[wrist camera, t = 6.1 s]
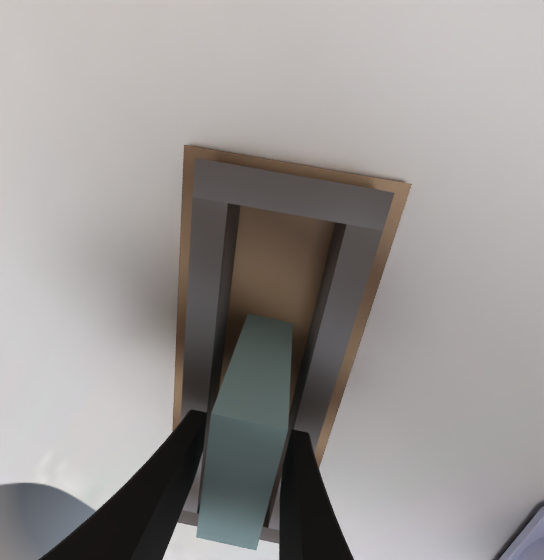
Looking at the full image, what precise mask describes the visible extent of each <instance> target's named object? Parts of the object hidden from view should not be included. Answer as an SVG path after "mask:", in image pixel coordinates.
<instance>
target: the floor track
mask: <svg viewBox="0 0 544 560" xmlns="http://www.w3.org/2000/svg"><path fill="white" fill-rule="evenodd" d="M411 185H412V184H409V183H403V182H397V181H391V180H386V179H380V178H374V177H368V176H362V175H357V174H351V173H345V172H339V171H333V170H328V169H322V168H316V167H310V166H304V165H299V164H293V163H287V162H281V161H275V160H270V159H264V158H258V157H252V156H246V155H240V154H235V153H229V152H223V151H217V150H211V149H206V148H200V147H194V146H188V145H184V162H183V187H182V211H181V236H180V261H179V285H178V310H177V334H176V359H175V384H174V408H173V431H174V430H175V429H176V427H177V426H178V425H179V423H180V422H181V421H182V419H183V418H184V417H185V415H186V414H187V413H188V411H190V410H191V409H192V410H197V411H202V412H207V419H206V429H205V439H204V449H203V453H202V456H201V460H200V463H199V466H198V470H197V473H196V476H195V479H194V482H193V484H192V487H191V489H190V492H189V494H188V497H187V499H186V502H185V504H184V507H183V509H182V512H181V514H180V517H179V519H178V522H179V523H183V524H188V525H193V526H198V519H199V510H200V502H201V494H202V486H203V477H204V469H205V461H206V453H207V444H208V436H209V428H210V419H211V413H212V410H213V407H214V404H215V402H216V399H217V396H218V394H219V391H220V388H221V385H222V383H223V380H224V377H225V374H226V372H227V369H228V366H229V364H230V361H231V358H232V355H233V353H234V350H235V347H236V344H237V342H238V339H239V336H240V334H241V331H242V328H243V325H244V323H245V320H246V317H247V314H251V315H256V316H261V317H266V318H271V319H277V320H282V321H287V322H292V323H293V328H292V351H291V375H290V398H289V421H288V432H287V435H286V439H285V443H284V447H283V451H282V454H281V458H280V462H279V466H278V470H277V473H276V477H275V481H274V485H273V489H272V492H271V496H270V500H269V504H268V508H267V511H266V515H265V519H264V523H263V527H262V530H261V534H260V538H259V539H260V540H265V541H269V542H274V543H279V521H280V487H281V476H282V466H283V462H284V458H285V454H286V450H287V446H288V442H289V438H290V434H291V430H292V429H293V430H298V431H303V432H308V433H309V435H310V438H311V443H312V447H313V451H314V454H315V458H316V461H317V465H318V468H319V466H320V463H321V460H322V457H323V454H324V451H325V448H326V445H327V442H328V439H329V436H330V433H331V429H332V426H333V423H334V420H335V417H336V414H337V411H338V408H339V405H340V402H341V399H342V396H343V393H344V390H345V387H346V384H347V381H348V378H349V374H350V371H351V368H352V365H353V362H354V359H355V356H356V353H357V350H358V347H359V344H360V341H361V338H362V335H363V332H364V329H365V326H366V322H367V319H368V316H369V313H370V310H371V307H372V304H373V301H374V298H375V295H376V292H377V289H378V286H379V283H380V280H381V277H382V274H383V270H384V267H385V264H386V261H387V258H388V255H389V252H390V249H391V246H392V243H393V240H394V237H395V234H396V231H397V228H398V225H399V222H400V218H401V215H402V212H403V209H404V206H405V203H406V200H407V197H408V194H409V191H410V188H411Z"/></svg>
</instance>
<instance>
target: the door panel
mask: <svg viewBox="0 0 544 560" xmlns="http://www.w3.org/2000/svg"><path fill="white" fill-rule="evenodd" d="M292 328H293V323H292V322H287V321H282V320H277V319H271V318H266V317H261V316H256V315H251V314H247V317H246V320H245V323H244V325H243V328H242V331H241V334H240V336H239V339H238V342H237V344H236V347H235V350H234V353H233V355H232V358H231V361H230V364H229V366H228V369H227V372H226V374H225V377H224V380H223V383H222V385H221V388H220V391H219V394H218V396H217V399H216V402H215V404H214V407H213V410H212V413H211V419H210V428H209V436H208V444H207V453H206V461H205V469H204V477H203V486H202V494H201V502H200V510H199V519H198V527H197V535H196V537H197V538H202V539H206V540H211V541H216V542H220V543H225V544H230V545H234V546H239V547H243V548H248V549H253V550H256V549H257V546H258V542H259V538H260V534H261V530H262V527H263V523H264V519H265V515H266V511H267V508H268V504H269V500H270V496H271V492H272V489H273V485H274V481H275V477H276V473H277V470H278V466H279V462H280V458H281V454H282V451H283V447H284V443H285V439H286V435H287V432H288V421H289V398H290V375H291V351H292Z"/></svg>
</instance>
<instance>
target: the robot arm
mask: <svg viewBox="0 0 544 560" xmlns="http://www.w3.org/2000/svg"><path fill="white" fill-rule="evenodd" d="M206 419H207V412H202V411H197V410H192V409H191V410H190V411H188V413H187V414H186V415H185V417H184V418H183V419H182V421H181V422H180V423H179V425H178V426H177V427H176V429H175V430H174V431H173V432H172V433H171V435H170V436H169V437H168V438H167V439H166V441H165V442H164V443H163V444H162V445H161V446H160V447H159V449H158V450H157V451H156V452H155V453H154V454H153V455H152V456H151V458H150V459H149V460H148V461H147V462H146V463H145V464H144V465H143V466H142V467H141V468H140V469H139V470H138V471H137V472H136V473H135V474H134V475H133V477H132V478H131V479H130V480H129V481H128V482H127V483H126V484H125V485H124V486H123V487H122V488H121V489H120V490H119V491H118V492H117V493H116V494H114V495H113V496H112V497H111V498H110V499H109V500H108V501H107V502H106V503H105V504H104V505H103V506H102V507H101V508H99V509H98V510H97V511H96V512H95V513H94V514H93V515H92V516H91V517H89V519H87V520H86V521H85V522H84V523H82V524H81V525H80V526H79V527H78V528H77V529H76V530H74V531H73V532H72V533H71V534H70V535H69V536H67V537H66V538H65V539H64V540H63V541H61V542H60V543H59V544H58V545H57V546H55V547H54V548H53V549H52V550H50V551H49V552H48V553H47V554H45V555H44V556H43V557H41V558H40V559H39V560H162V559H163V557H164V554H165V551H166V549H167V546H168V544H169V541H170V539H171V537H172V534H173V532H174V529H175V527H176V524H177V522H178V519H179V517H180V514H181V512H182V509H183V507H184V504H185V502H186V499H187V497H188V494H189V492H190V489H191V487H192V484H193V482H194V479H195V476H196V473H197V470H198V466H199V463H200V460H201V456H202V453H203V449H204V439H205V429H206ZM279 560H354V559H353V556H352V554H351V552H350V550H349V547H348V545H347V543H346V541H345V538H344V536H343V534H342V531H341V529H340V526H339V524H338V521H337V519H336V516H335V514H334V511H333V508H332V506H331V503H330V500H329V498H328V495H327V492H326V489H325V486H324V483H323V481H322V477H321V474H320V471H319V468H318V465H317V461H316V458H315V454H314V451H313V447H312V443H311V438H310V435H309V433H308V432H303V431H298V430H293V429H292V430H291V434H290V438H289V442H288V446H287V450H286V454H285V458H284V462H283V466H282V476H281V487H280V521H279ZM499 560H544V507H542V508H541V509H540V510H539V511H538V512H537V514H536V515H535V516H534V517H533V518H532V520H531V521H530V522H529V523H528V525H527V526H526V527H525V528H524V529H523V531H522V532H521V533H520V534H519V535H518V537H517V538H516V539H515V540H514V542H513V543H512V544H511V545H510V546H509V548H508V549H507V550H506V551H505V553H504V554H503V555H502V556H501V557H500V559H499Z"/></svg>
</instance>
